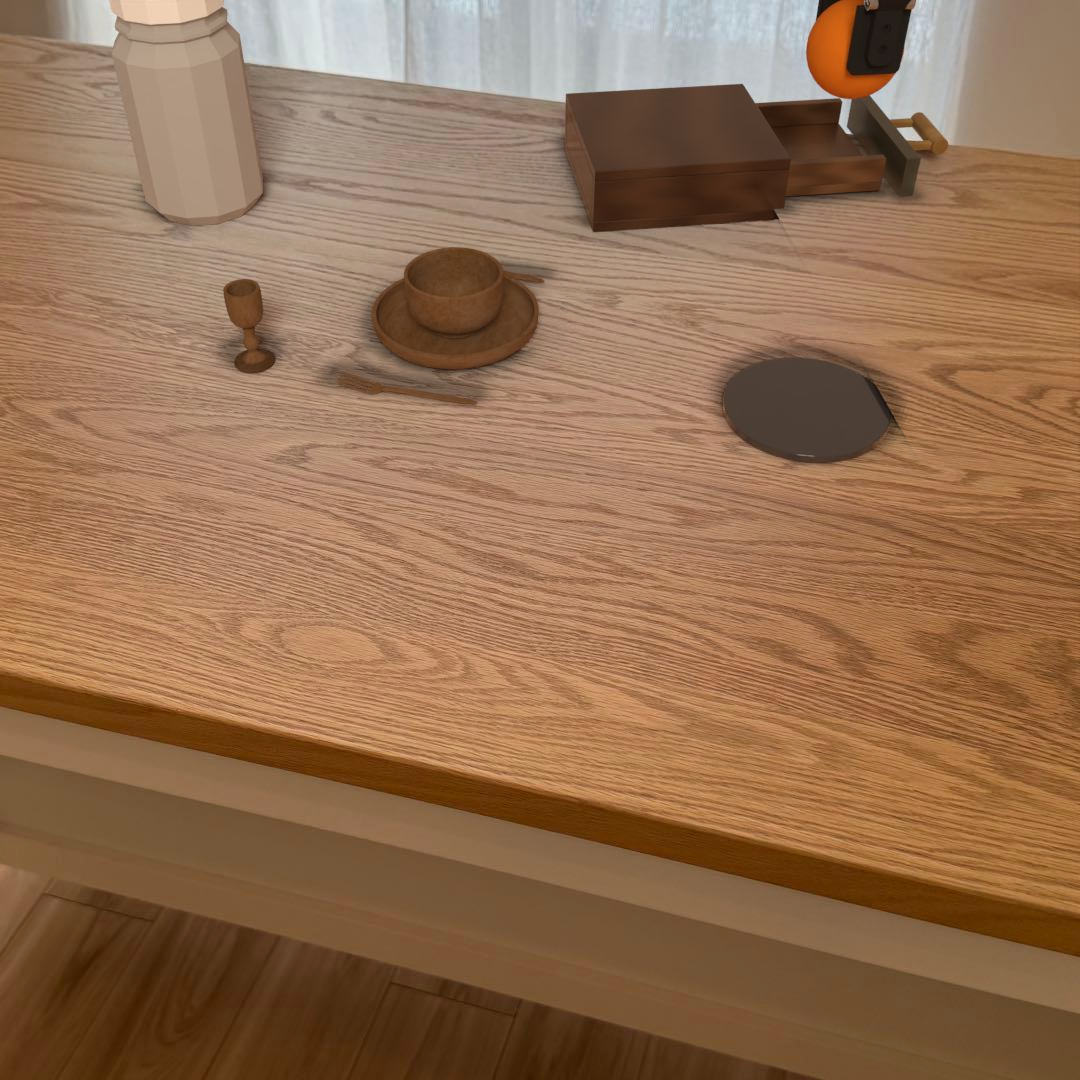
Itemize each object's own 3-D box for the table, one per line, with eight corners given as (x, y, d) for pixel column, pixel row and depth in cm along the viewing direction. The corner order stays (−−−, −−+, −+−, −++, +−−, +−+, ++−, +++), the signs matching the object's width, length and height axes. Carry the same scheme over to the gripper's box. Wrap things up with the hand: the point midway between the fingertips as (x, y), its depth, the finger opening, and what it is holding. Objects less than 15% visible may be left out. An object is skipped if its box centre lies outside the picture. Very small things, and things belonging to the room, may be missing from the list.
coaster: (857, 358, 87) (859, 351, 87) (913, 455, 79) (915, 448, 79) (705, 370, 86) (705, 363, 86) (746, 470, 78) (747, 463, 78)
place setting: (506, 414, 82) (504, 339, 78) (224, 375, 86) (209, 301, 82) (561, 280, 95) (562, 209, 91) (314, 250, 98) (305, 180, 94)
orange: (877, 74, 82) (894, -20, 78) (907, 112, 78) (927, 15, 74) (789, 78, 82) (802, -16, 78) (814, 117, 78) (830, 19, 74)
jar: (130, 227, 101) (74, -2, 88) (169, 172, 108) (122, -47, 96) (248, 234, 100) (208, 4, 88) (279, 178, 107) (246, -42, 95)
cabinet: (736, 140, 113) (743, 83, 109) (782, 219, 102) (791, 158, 98) (564, 151, 111) (565, 93, 107) (593, 232, 100) (595, 171, 97)
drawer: (903, 123, 113) (910, 87, 111) (960, 193, 103) (970, 155, 101) (702, 135, 111) (705, 98, 109) (741, 208, 101) (746, 169, 99)
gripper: (1050, -257, 60) (962, 106, 72) (926, -318, 73) (869, 0, 85) (900, -254, 59) (837, 112, 71) (801, -316, 72) (762, 4, 84)
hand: (855, 48), depth 78 cm, fingers closed on orange, 6 cm apart
